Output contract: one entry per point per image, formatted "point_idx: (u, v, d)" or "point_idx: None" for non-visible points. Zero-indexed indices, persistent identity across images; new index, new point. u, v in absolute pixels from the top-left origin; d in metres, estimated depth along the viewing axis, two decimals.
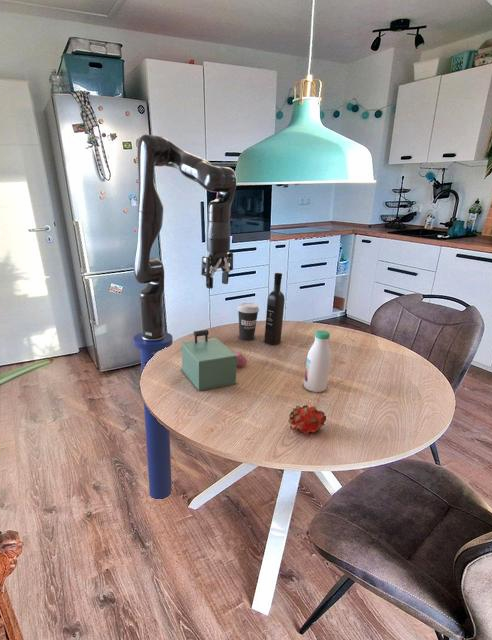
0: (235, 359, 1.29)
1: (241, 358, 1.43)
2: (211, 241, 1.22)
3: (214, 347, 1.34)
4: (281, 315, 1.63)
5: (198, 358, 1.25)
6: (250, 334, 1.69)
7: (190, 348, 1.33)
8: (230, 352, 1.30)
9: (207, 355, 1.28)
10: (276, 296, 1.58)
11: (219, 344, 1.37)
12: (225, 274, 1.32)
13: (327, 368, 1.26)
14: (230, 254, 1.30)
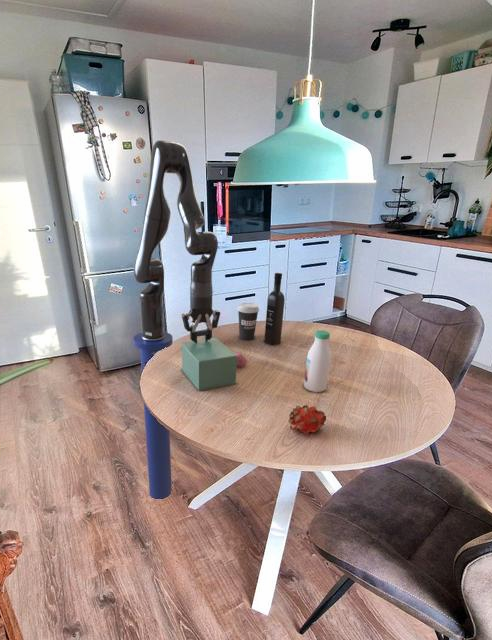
0: (235, 359, 1.29)
1: (241, 358, 1.43)
2: (191, 298, 1.30)
3: (214, 347, 1.34)
4: (281, 315, 1.62)
5: (198, 358, 1.25)
6: (250, 334, 1.69)
7: (190, 348, 1.33)
8: (230, 352, 1.30)
9: (207, 355, 1.28)
10: (276, 296, 1.58)
11: (219, 344, 1.37)
12: (208, 331, 1.37)
13: (327, 368, 1.26)
14: (217, 312, 1.35)
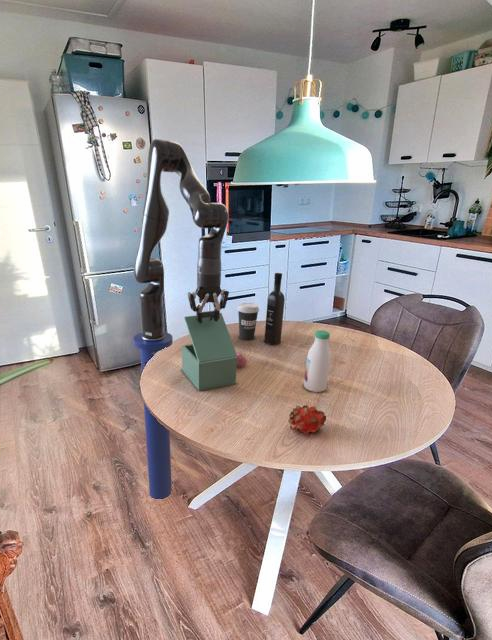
0: (235, 359, 1.29)
1: (241, 358, 1.43)
2: (198, 276, 1.21)
3: (217, 333, 1.30)
4: (281, 315, 1.62)
5: (199, 355, 1.24)
6: (250, 334, 1.69)
7: (193, 332, 1.27)
8: (231, 348, 1.29)
9: (208, 349, 1.26)
10: (276, 296, 1.58)
11: (223, 329, 1.32)
12: (215, 311, 1.29)
13: (327, 368, 1.26)
14: (225, 292, 1.26)
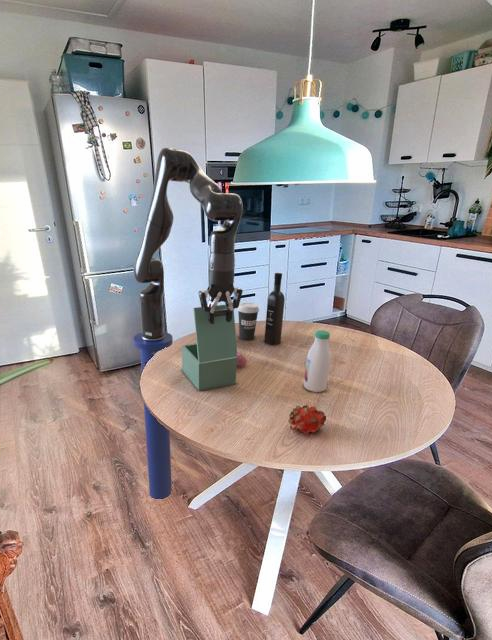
0: (235, 359, 1.29)
1: (241, 358, 1.43)
2: (209, 273, 1.12)
3: (223, 330, 1.25)
4: (281, 315, 1.62)
5: (200, 355, 1.23)
6: (250, 334, 1.69)
7: (199, 327, 1.21)
8: (234, 348, 1.27)
9: (211, 349, 1.24)
10: (276, 296, 1.58)
11: (230, 324, 1.26)
12: (228, 311, 1.19)
13: (327, 368, 1.26)
14: (239, 290, 1.18)
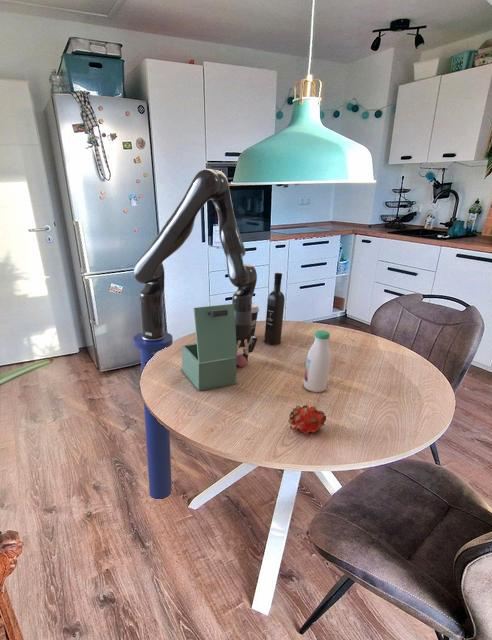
0: (235, 359, 1.29)
1: (241, 358, 1.43)
2: None
3: (223, 330, 1.25)
4: (281, 315, 1.62)
5: (200, 355, 1.23)
6: (250, 334, 1.69)
7: (199, 328, 1.21)
8: (234, 348, 1.27)
9: (211, 349, 1.24)
10: (276, 296, 1.58)
11: (230, 324, 1.25)
12: (244, 355, 1.46)
13: (327, 368, 1.26)
14: (254, 338, 1.45)
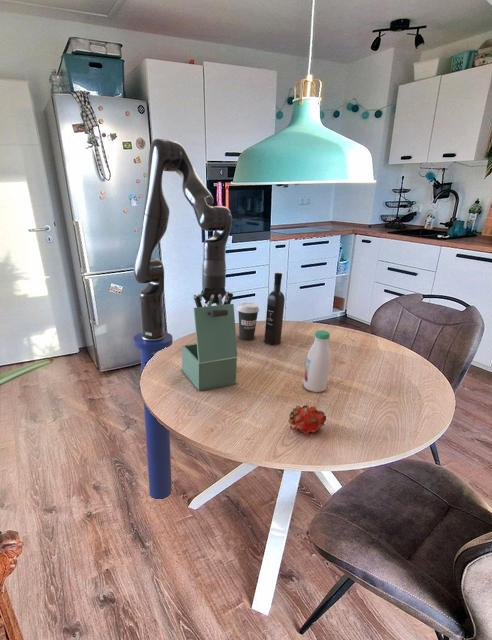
0: (235, 359, 1.29)
1: None
2: (203, 277, 1.24)
3: (223, 330, 1.25)
4: (281, 315, 1.62)
5: (200, 355, 1.23)
6: (250, 334, 1.69)
7: (199, 328, 1.21)
8: (234, 348, 1.27)
9: (211, 349, 1.24)
10: (276, 296, 1.58)
11: (230, 324, 1.25)
12: None
13: (327, 368, 1.26)
14: (230, 294, 1.29)
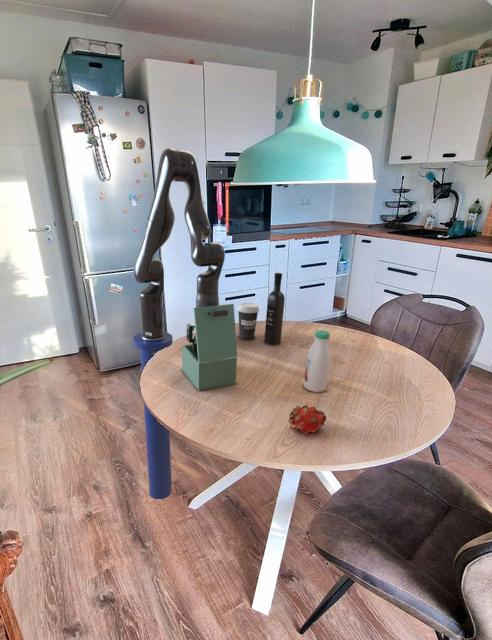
0: (235, 359, 1.29)
1: None
2: None
3: (223, 330, 1.25)
4: (281, 315, 1.62)
5: (200, 355, 1.23)
6: (250, 334, 1.69)
7: (199, 328, 1.21)
8: (234, 348, 1.27)
9: (211, 349, 1.24)
10: (276, 296, 1.58)
11: (230, 324, 1.25)
12: None
13: (327, 368, 1.26)
14: None
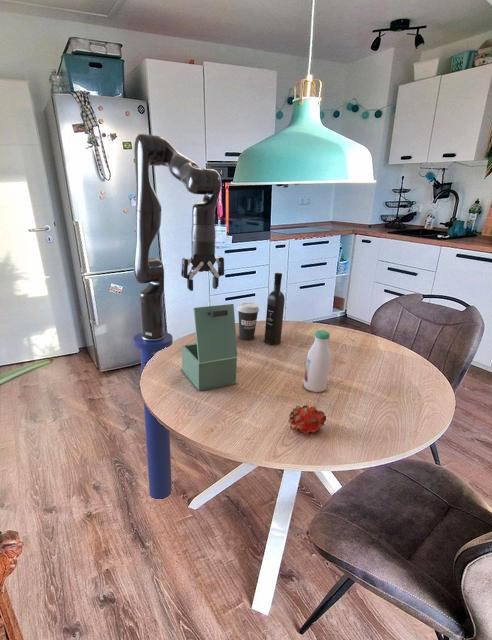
0: (235, 359, 1.29)
1: None
2: (192, 243, 1.21)
3: (223, 330, 1.25)
4: (281, 315, 1.62)
5: (200, 355, 1.23)
6: (250, 334, 1.69)
7: (199, 328, 1.21)
8: (234, 348, 1.27)
9: (211, 349, 1.24)
10: (276, 296, 1.58)
11: (230, 324, 1.25)
12: (214, 278, 1.29)
13: (327, 368, 1.26)
14: (220, 259, 1.26)
